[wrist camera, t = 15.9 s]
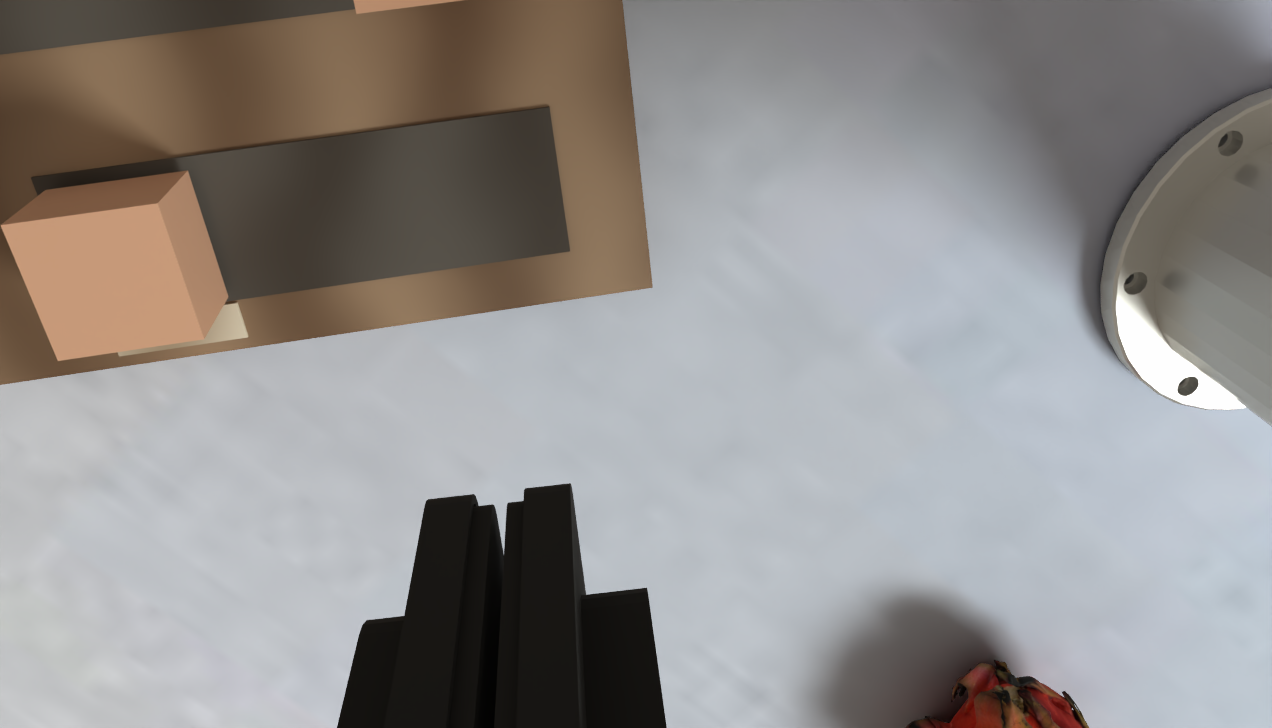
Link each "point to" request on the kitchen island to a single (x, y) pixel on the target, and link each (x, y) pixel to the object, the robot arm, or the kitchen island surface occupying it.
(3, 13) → the switch board
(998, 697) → the dragon fruit
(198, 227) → the tab
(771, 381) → the kitchen island surface
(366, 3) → the tab
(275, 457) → the kitchen island surface
